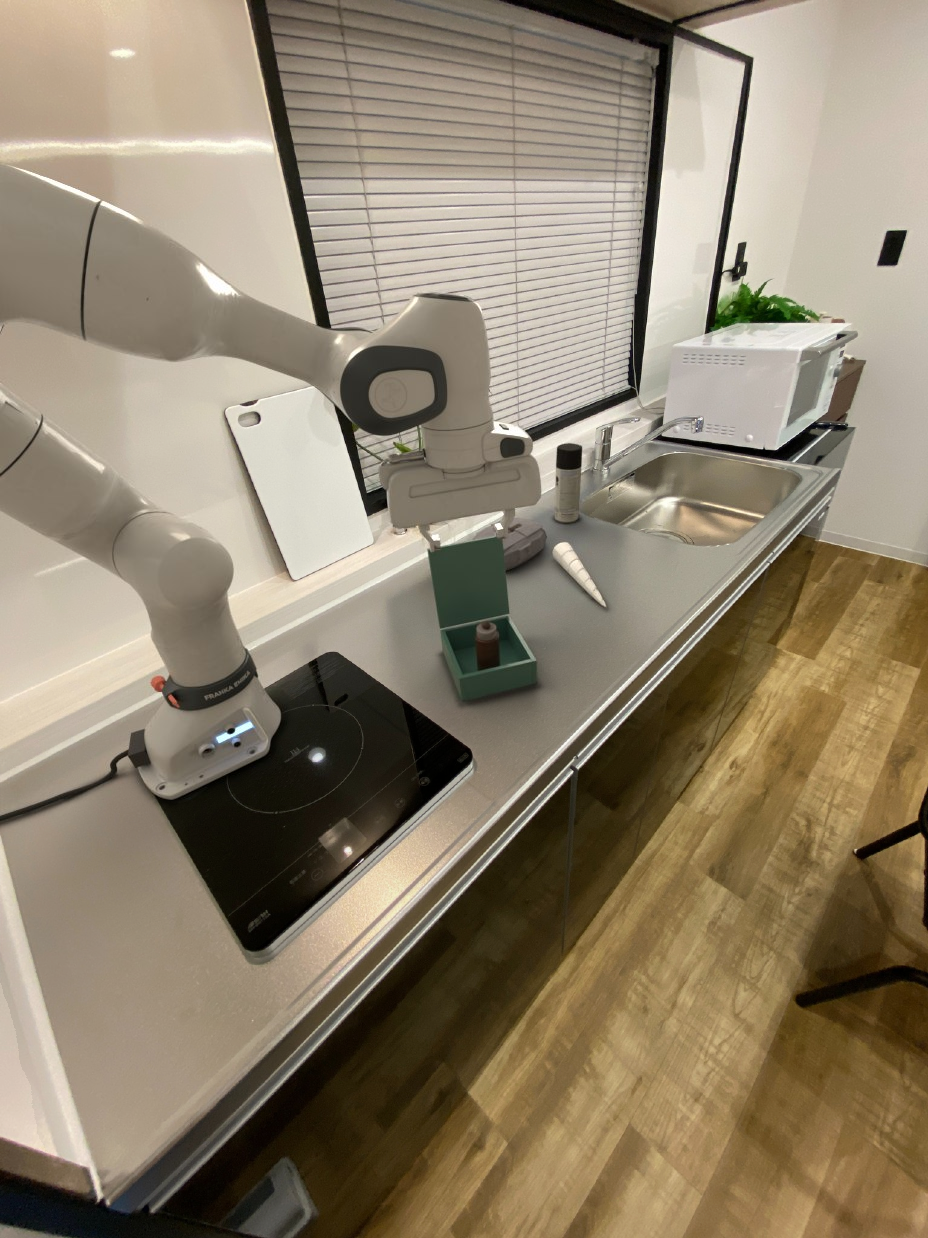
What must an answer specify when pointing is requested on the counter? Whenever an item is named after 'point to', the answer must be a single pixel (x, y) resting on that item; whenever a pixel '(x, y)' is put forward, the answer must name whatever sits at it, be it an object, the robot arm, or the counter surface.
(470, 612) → the lid
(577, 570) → the unicorn horn
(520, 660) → the chest
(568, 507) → the spray can
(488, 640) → the pepper mill
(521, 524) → the grey rounded bag
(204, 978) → the counter surface
